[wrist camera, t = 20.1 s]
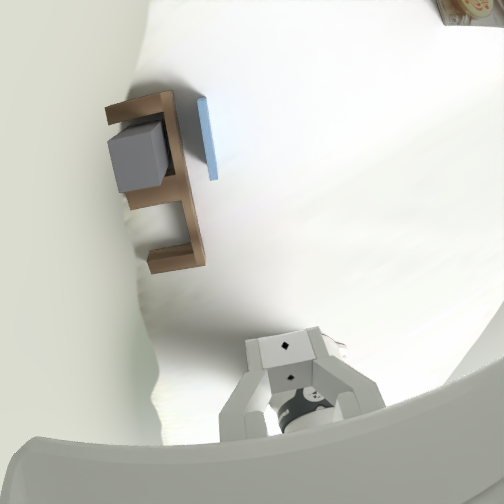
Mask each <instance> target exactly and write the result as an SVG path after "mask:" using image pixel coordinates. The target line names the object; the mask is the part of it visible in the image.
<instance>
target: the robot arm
mask: <svg viewBox="0 0 504 504" xmlns="http://www.w3.org/2000/svg"><path fill="white" fill-rule="evenodd" d="M258 342H259V343H258ZM245 348H246V356H247V364H248V372H245V373H244V375H243V377H242V378H241V380H240V382H239V383H238V385H237V386H236V388H235V390H234V391H233V393H232V395H231V396H230V398H229V399H228V401H227V403H226V404H225V406H224V407H223V409H222V410H221V412H220V414H219V431H220V443H208V444H194V445H173V446H128V445H107V444H93V443H82V442H73V441H65V440H58V439H51V438H45V437H33V438H32V439H30V440H29V441H28V442H26V444H24V445H23V446H22V447H21V448H20V449H19V450H18V451H17V452H16V453H15V454H14V455H13V457H12V458H11V460H10V463H9V465H8V468H7V471H6V475H5V478H4V482H3V486H2V491H1V496H0V504H504V355H503V356H502V357H499V358H498V359H496V360H494V361H492V362H490V363H489V364H487V365H485V366H483V367H481V368H479V369H477V370H475V371H473V372H471V373H469V374H467V375H465V376H462V377H460V378H458V379H456V380H454V381H452V382H449V383H447V384H445V385H443V386H440V387H438V388H436V389H433V390H431V391H428V392H426V393H423V394H421V395H418V396H416V397H413V398H410V399H408V400H405V401H402V402H400V403H397V404H394V405H391V406H388V407H386V406H385V403H384V401H383V399H382V396H381V394H380V392H379V389H378V387H377V385H376V383H375V382H374V381H372V380H370V379H369V378H367V377H366V376H364V375H363V374H361V373H360V372H358V371H357V370H355V369H354V368H352V367H351V366H349V365H347V364H346V363H345V362H344V360H345V357H346V355H347V353H348V349H347V346H345V345H342V344H337V343H335V342H334V341H333V340H332V339H330V338H329V337H327V336H325V335H322V333H321V331H320V328H319V327H318V326H317V327H313V328H308V329H303V330H298V331H293V332H289V333H284V334H280V335H274V336H267V337H261V338H255V339H249V340H245ZM268 404H270V406H271V408H272V409H273V410H274V411H275V412H276V414H277V415H278V421H279V426H280V428H281V431H282V433H283V434H278V435H273V436H269V435H268V431H267V427H266V423H265V419H264V415H263V414H264V411H265V409H266V407H267V405H268Z"/></svg>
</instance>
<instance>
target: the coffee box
mask: <svg viewBox="0 0 504 504" xmlns="http://www.w3.org/2000/svg"><path fill="white" fill-rule="evenodd" d="M436 1H437V4H438V7H439V10H440V13H441V16H442V19H443V22H444V25H445V26H485V27H500V28H504V0H436Z"/></svg>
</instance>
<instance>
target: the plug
mask: <svg viewBox="0 0 504 504" xmlns="http://www.w3.org/2000/svg"><path fill="white" fill-rule="evenodd" d="M108 147H109V152H110V156H111V161H112V165H113V170H114V173H115V178H116V182H117V186H118V190H119V193H123V192H128V191H133V190H138V189H143V188H149V187H154V186H160V185H161V183H162V180H163V178H164V175H165V173H166V170H167V168H168V166H169V163H170V158H169V152H168V147H167V141H166V134H165V128H164V122H163V119H162V120H157V121H152V122H147V123H142V124H137V125H133V126H129V127H127V128H126V129H124V130H123V131H121V132H120V133H118V134H117V135H116V136H114V137H113V138H111V139H110V140H109V141H108Z"/></svg>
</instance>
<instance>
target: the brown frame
mask: <svg viewBox="0 0 504 504" xmlns="http://www.w3.org/2000/svg"><path fill="white" fill-rule="evenodd" d="M197 105H198V111H199V117H200V124H201V130H202V136H203V142H204V148H205V154H206V160H207V166H208V171H209V177H210V181H211V180H217V179H218V173H217V164H216V158H215V152H214V145H213V139H212V132H211V126H210V119H209V113H208V106H207V100H206V97H203V98H199V99H198V101H197ZM105 111H106V116H107V121H108V125H111V124H115V123H119V122H122V121H126V120H130V119H134V118H138V117H142V116H146V115H150V114H154V113H159V112H164V118H165V123H166V128H167V134H168V139H169V144H170V149H171V154H172V159H173V164H174V169H171V170H166V173H165V175H164V178H163V180H162V183H161V185H160V186H154V187H149V188H143V189H138V190H133V191H128V192H125V193H126V197H127V200H128V203H129V207H130V210H135V209H139V208H144V207H149V206H154V205H159V204H164V203H169V202H175V201H180V200H181V201H182V205H183V210H184V214H185V218H186V223H187V227H188V231H189V235H190V239H191V244H185V245H179V246H173V247H168V248H162V249H156V250H151V251H150V252H149V256H148V259H147V263H148V266H149V269H150V272H151V274H157V273H163V272H169V271H176V270H182V269H188V268H194V267H200V266H205V252H204V247H203V243H202V238H201V234H200V229H199V225H198V220H197V216H196V211H195V206H194V201H193V197H192V192H191V187H190V182H189V177H188V172H187V167H186V162H185V156H184V151H183V146H182V141H181V135H180V130H179V124H178V118H177V113H176V107H175V101H174V95H173V90H169V91H165V92H160V93H156V94H152V95H147V96H143V97H139V98H135V99H132V100H128V101H124V102H121V103H117V104H114V105H110V106H108V107H105Z"/></svg>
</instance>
